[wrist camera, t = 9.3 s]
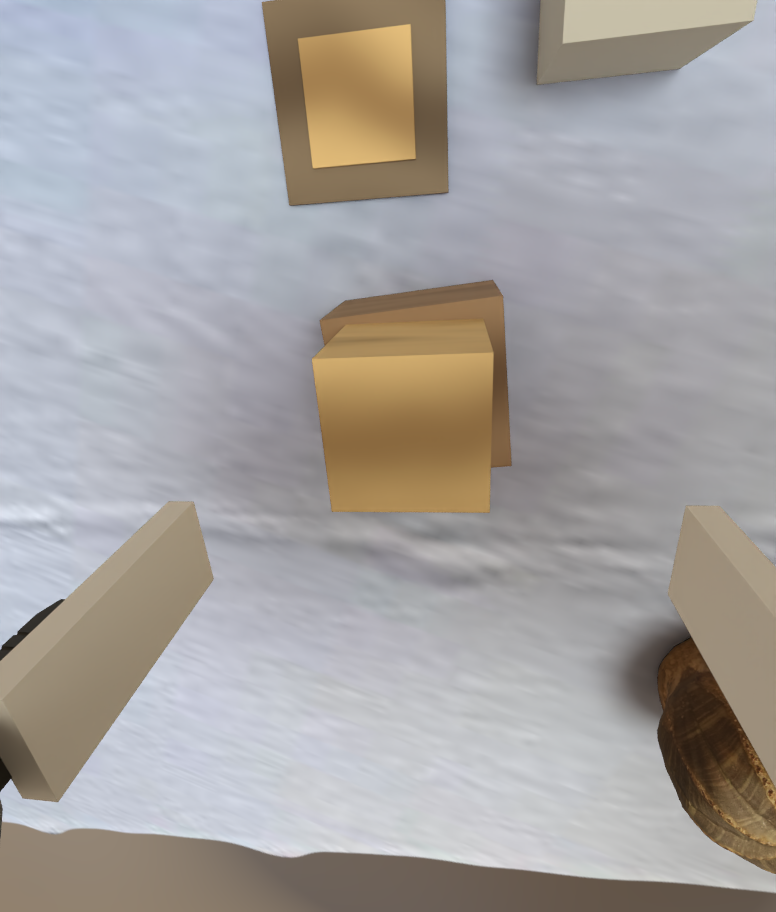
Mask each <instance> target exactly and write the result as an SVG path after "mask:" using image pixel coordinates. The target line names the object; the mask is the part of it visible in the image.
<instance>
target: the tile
mask: <svg viewBox="0 0 776 912" xmlns="http://www.w3.org/2000/svg"><path fill="white" fill-rule="evenodd" d="M262 7H263V15H264V22H265V29H266V37H267V44H268V51H269V59H270V66H271V73H272V81H273V88H274V95H275V103H276V110H277V117H278V125H279V132H280V139H281V147H282V154H283V161H284V169H285V176H286V183H287V191H288V198H289V205H291V206H292V205H304V204H316V203H328V202H340V201H352V200H364V199H377V198H389V197H401V196H413V195H425V194H437V193H448V138H447V74H446V9H445V0H274V1H267V2H262Z"/></svg>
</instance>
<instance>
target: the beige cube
mask: <svg viewBox="0 0 776 912" xmlns="http://www.w3.org/2000/svg"><path fill="white" fill-rule="evenodd" d="M756 4H757V0H540V21H539V43H538V65H537V85H540V84H549V83H558V82H567V81H576V80H585V79H594V78H603V77H612V76H621V75H630V74H639V73H648V72H657V71H666V70H675V69H680V68H682V67H683V66H685V65H686V64H688V63H689V62H691V61H692V60H694V59H695V58H697V57H698V56H700V55H702V54H703V53H705V52H706V51H708V50H709V49H711V48H712V47H714V46H715V45H717V44H718V43H720V42H721V41H723V40H724V39H726V38H727V37H729V36H730V35H732V34H733V33H735V32H737V31H738V30H740V29H741V28H743V27H744V26H746V25H747V24H749V23H750V22H752V21H753V20H754V15H755V9H756Z"/></svg>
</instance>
